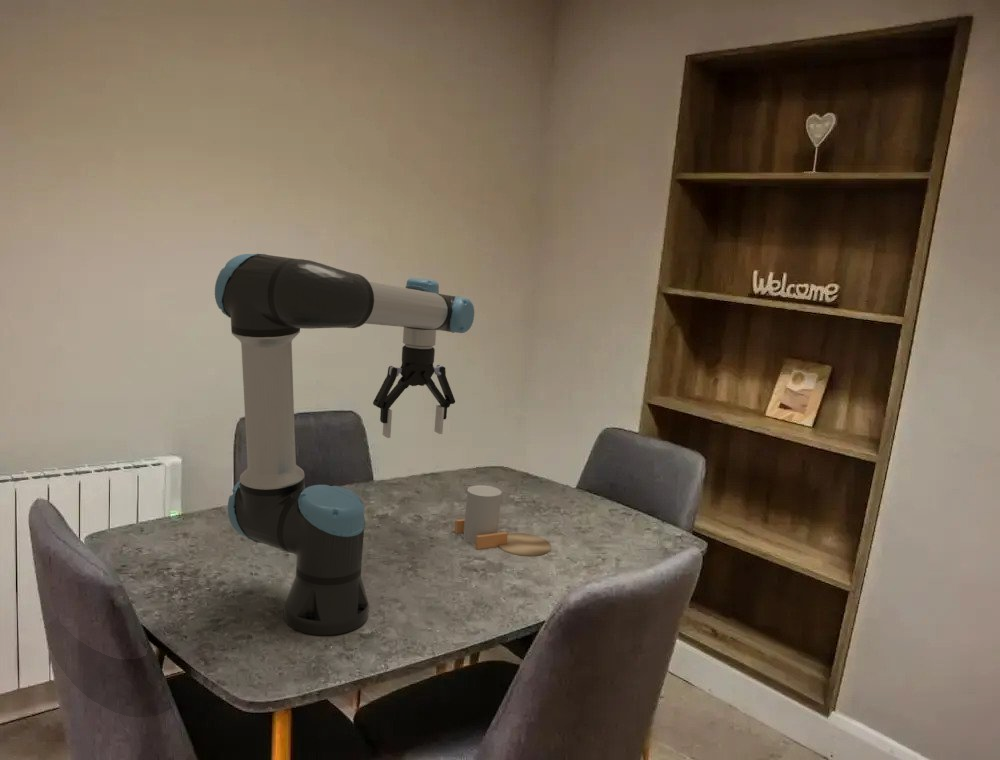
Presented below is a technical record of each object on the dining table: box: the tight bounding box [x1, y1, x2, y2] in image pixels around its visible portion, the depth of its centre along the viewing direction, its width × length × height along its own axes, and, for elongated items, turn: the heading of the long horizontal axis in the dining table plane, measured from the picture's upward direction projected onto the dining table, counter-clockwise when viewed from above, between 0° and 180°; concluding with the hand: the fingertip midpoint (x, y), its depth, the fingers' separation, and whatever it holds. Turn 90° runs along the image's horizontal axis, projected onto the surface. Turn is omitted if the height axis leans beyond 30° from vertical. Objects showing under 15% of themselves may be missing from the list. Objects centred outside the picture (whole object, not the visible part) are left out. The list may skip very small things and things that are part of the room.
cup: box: [463, 484, 502, 545], centre depth 186 cm, size 8×8×12 cm
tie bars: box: [454, 518, 509, 550], centre depth 187 cm, size 12×8×3 cm
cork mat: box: [498, 532, 552, 557], centre depth 186 cm, size 13×13×1 cm
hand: (412, 434), depth 185 cm, fingers open, 13 cm apart
